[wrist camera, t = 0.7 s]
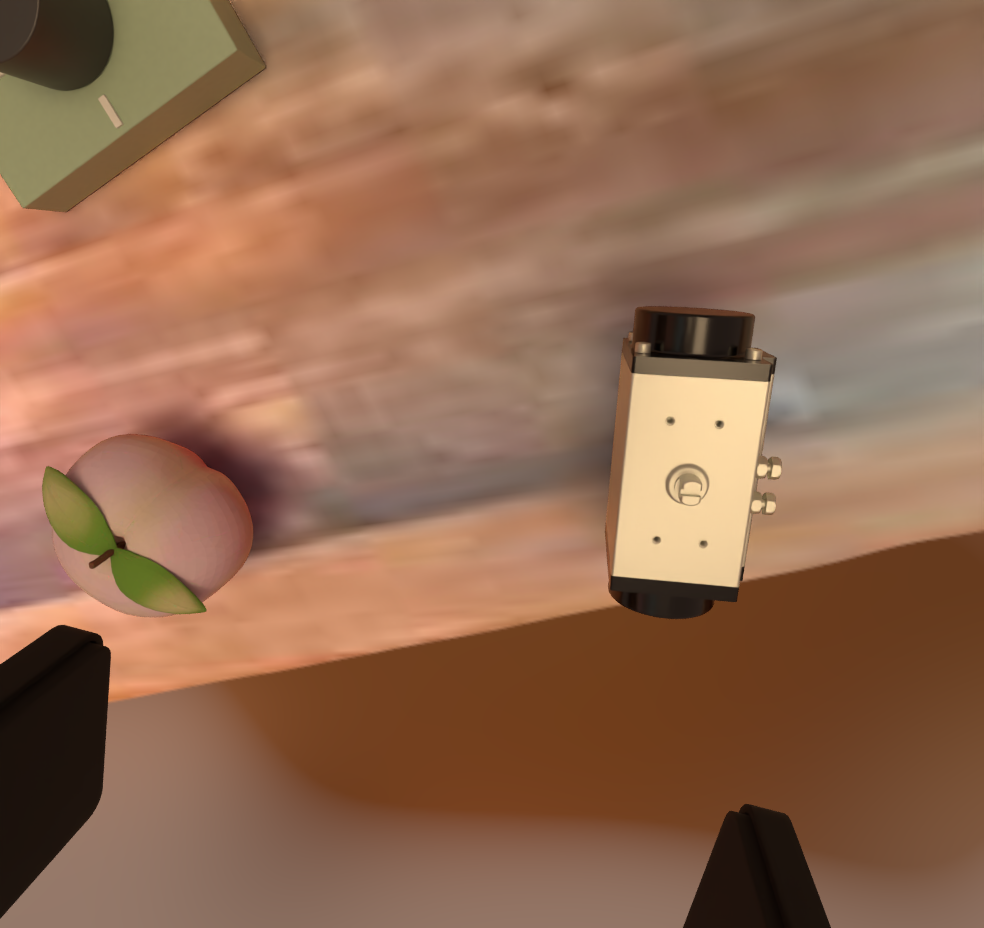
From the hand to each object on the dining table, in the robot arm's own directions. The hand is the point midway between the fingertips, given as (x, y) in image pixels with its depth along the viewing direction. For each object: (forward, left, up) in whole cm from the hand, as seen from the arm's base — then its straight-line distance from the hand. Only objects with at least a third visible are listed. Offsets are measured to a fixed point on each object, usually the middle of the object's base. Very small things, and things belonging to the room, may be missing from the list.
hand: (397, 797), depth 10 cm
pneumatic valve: (-5, +5, -28) cm, 28 cm away
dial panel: (+3, -27, -27) cm, 39 cm away
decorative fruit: (+17, -9, -28) cm, 33 cm away
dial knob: (+3, -27, -24) cm, 36 cm away
